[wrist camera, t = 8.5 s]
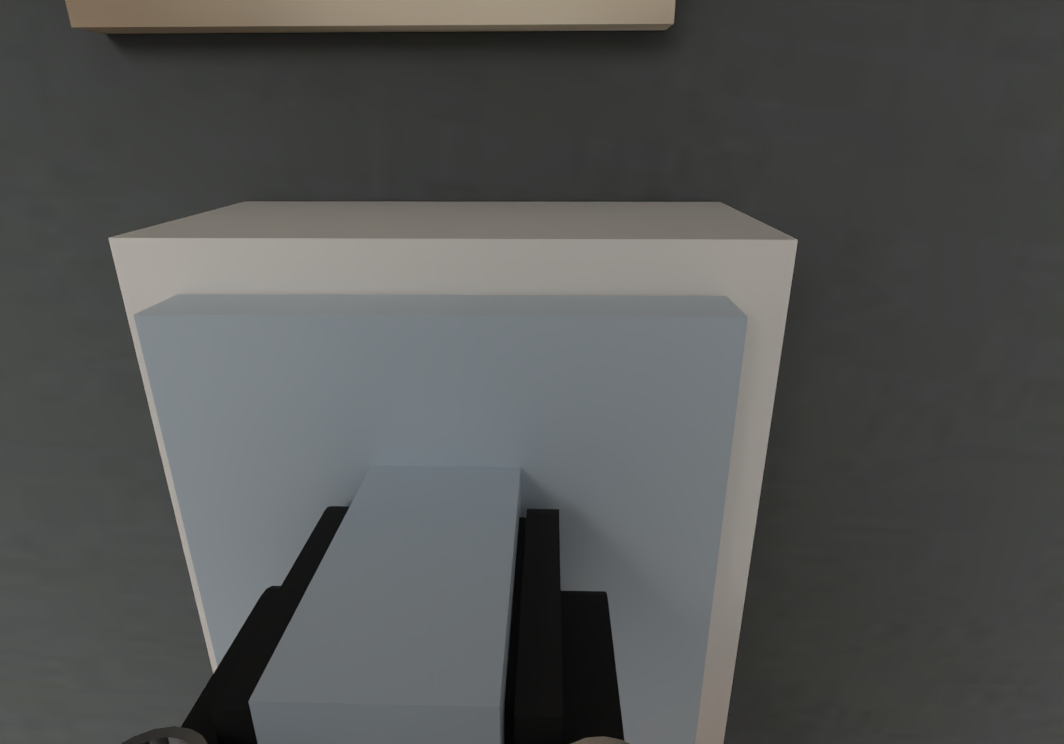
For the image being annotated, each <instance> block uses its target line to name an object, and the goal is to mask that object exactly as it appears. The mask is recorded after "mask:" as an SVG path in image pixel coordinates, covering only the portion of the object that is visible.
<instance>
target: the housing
mask: <svg viewBox="0 0 1064 744" xmlns="http://www.w3.org/2000/svg"><path fill="white" fill-rule="evenodd" d="M108 239H109V243H110V247H111V251H112V255H113V259H114V263H115V268H116V272H117V276H118V280H119V284H120V288H121V293H122V297H123V301H124V305H125V309H126V313H127V317H128V322H129V326H130V330H131V334H132V338H133V342H134V346H135V351H136V355H137V359H138V363H139V367H140V371H141V375H142V380H143V384H144V388H145V392H146V396H147V400H148V405H149V409H150V413H151V417H152V421H153V425H154V429H155V434H156V438H157V442H158V446H159V450H160V454H161V458H162V463H163V467H164V471H165V475H166V479H167V483H168V488H169V492H170V496H171V500H172V504H173V508H174V512H175V517H176V521H177V525H178V529H179V533H180V537H181V541H182V546H183V550H184V554H185V558H186V562H187V566H188V570H189V575H190V579H191V583H192V587H193V591H194V595H195V600H196V604H197V608H198V612H199V616H200V620H201V624H202V629H203V633H204V637H205V641H206V645H207V649H208V653H209V658H210V662H211V666H212V670H213V674H214V672H215V670H216V669H217V662H216V658H215V654H214V650H213V646H212V641H211V637H210V633H209V629H208V625H207V620H206V616H205V612H204V608H203V604H202V600H201V595H200V591H199V587H198V583H197V579H196V574H195V570H194V566H193V562H192V558H191V553H190V549H189V545H188V541H187V537H186V533H185V528H184V524H183V520H182V516H181V512H180V507H179V503H178V499H177V495H176V491H175V486H174V482H173V478H172V474H171V470H170V466H169V461H168V457H167V453H166V449H165V445H164V440H163V436H162V432H161V428H160V424H159V419H158V415H157V411H156V407H155V403H154V399H153V394H152V390H151V386H150V382H149V378H148V373H147V369H146V365H145V361H144V357H143V352H142V348H141V344H140V340H139V336H138V331H137V327H136V323H135V319H134V314H136V313H138V312H140V311H142V310H145V309H147V308H149V307H151V306H153V305H155V304H157V303H160V302H162V301H164V300H166V299H168V298H170V297H173V296H175V295H177V294H265V295H563V296H727V297H728V298H729V299H730V300H731V301H732V302H733V303H734V304H735V305H736V306H737V307H738V308H739V309H740V310H741V311H742V312H743V313H744V314H745V315H746V316H747V317H748V319H747V327H746V335H745V343H744V352H743V360H742V368H741V376H740V384H739V392H738V400H737V408H736V416H735V425H734V433H733V441H732V449H731V457H730V465H729V473H728V481H727V489H726V497H725V506H724V514H723V522H722V530H721V538H720V546H719V554H718V562H717V570H716V579H715V587H714V595H713V603H712V611H711V619H710V627H709V635H708V643H707V652H706V660H705V668H704V676H703V684H702V692H701V700H700V708H699V716H698V724H697V733H696V741H695V744H723V743H724V736H725V729H726V722H727V716H728V709H729V702H730V695H731V689H732V682H733V675H734V668H735V662H736V655H737V648H738V641H739V634H740V628H741V621H742V614H743V607H744V601H745V594H746V587H747V580H748V574H749V567H750V560H751V553H752V547H753V540H754V533H755V526H756V520H757V513H758V506H759V499H760V493H761V486H762V479H763V472H764V466H765V459H766V452H767V445H768V439H769V432H770V425H771V418H772V412H773V405H774V398H775V391H776V385H777V378H778V371H779V364H780V358H781V351H782V344H783V337H784V331H785V324H786V317H787V310H788V304H789V297H790V290H791V283H792V277H793V270H794V263H795V256H796V250H797V243H798V239H795V238H793V237H791V236H789V235H787V234H785V233H783V232H781V231H779V230H777V229H775V228H773V227H771V226H769V225H767V224H765V223H763V222H760V221H758V220H756V219H754V218H752V217H750V216H748V215H746V214H744V213H742V212H740V211H738V210H736V209H734V208H732V207H730V206H727V205H725V204H723V203H721V202H414V201H245V202H241V203H237V204H234V205H230V206H226V207H222V208H219V209H215V210H211V211H207V212H204V213H200V214H196V215H192V216H189V217H185V218H181V219H177V220H173V221H170V222H166V223H162V224H158V225H155V226H151V227H147V228H143V229H140V230H136V231H132V232H128V233H125V234H121V235H117V236H113V237H110V238H108Z"/></svg>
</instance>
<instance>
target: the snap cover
mask: <svg viewBox="0 0 1064 744" xmlns="http://www.w3.org/2000/svg"><path fill="white" fill-rule="evenodd" d="M134 319H135V323H136V327H137V331H138V336H139V340H140V344H141V348H142V352H143V357H144V361H145V365H146V369H147V373H148V378H149V382H150V386H151V390H152V394H153V399H154V403H155V407H156V411H157V415H158V419H159V424H160V428H161V432H162V436H163V440H164V445H165V449H166V453H167V457H168V461H169V466H170V470H171V474H172V478H173V482H174V486H175V491H176V495H177V499H178V503H179V507H180V512H181V516H182V520H183V524H184V528H185V533H186V537H187V541H188V545H189V549H190V553H191V558H192V562H193V566H194V570H195V574H196V579H197V583H198V587H199V591H200V595H201V600H202V604H203V608H204V612H205V616H206V620H207V625H208V629H209V633H210V637H211V641H212V646H213V650H214V654H215V658H216V662H217V667H218V665H219V664H220V662H221V660H222V659H223V657H224V656H225V654H226V652H227V651H228V649H229V647H230V646H231V644H232V642H233V641H234V639H235V637H236V636H237V634H238V633H239V631H240V629H241V628H242V626H243V624H244V623H245V621H246V619H247V618H248V616H249V614H250V613H251V611H252V610H253V608H254V606H255V605H256V603H257V601H258V600H259V598H260V596H261V595H262V594H263V592H264V591H265V590H266V589H267V588H269V587H271V586H281V585H282V583H283V582H284V580H285V578H286V576H287V575H288V573H289V571H290V569H291V568H292V566H293V564H294V563H295V561H296V559H297V557H298V556H299V554H300V552H301V550H302V549H303V547H304V545H305V544H306V542H307V540H308V538H309V537H310V535H311V533H312V531H313V530H314V528H315V526H316V525H317V523H318V521H319V519H320V518H321V516H322V514H323V512H324V511H325V509H326V508H327V507H329V506H350V507H349V509H348V511H347V513H346V515H345V517H344V519H343V521H342V523H341V525H340V526H339V528H338V530H337V532H336V534H335V536H334V538H333V540H332V542H331V544H330V546H329V548H328V549H327V551H326V553H325V555H324V557H323V559H322V561H321V563H320V565H319V567H318V569H317V571H316V573H315V574H314V576H313V578H312V580H311V582H310V584H309V586H308V588H307V590H306V592H305V594H304V596H303V597H302V599H301V601H300V603H299V605H298V607H297V609H296V611H295V613H294V615H293V617H292V619H291V621H290V622H289V624H288V626H287V628H286V630H285V632H284V634H283V636H282V638H281V640H280V642H279V644H278V645H277V647H276V649H275V651H274V653H273V655H272V657H271V659H270V661H269V663H268V665H267V667H266V669H265V670H264V672H263V674H262V676H261V678H260V680H259V682H258V684H257V686H256V688H255V690H254V692H253V693H252V695H251V697H250V699H249V701H248V702H249V707H250V711H251V716H252V720H253V725H254V729H255V734H256V738H257V743H258V744H504V710H505V691H506V679H507V666H508V654H509V641H510V629H511V616H512V603H513V591H514V578H515V566H516V553H517V541H518V528H519V518H520V517H525V518H526V513H527V509H559V533H560V584H561V591H606V593H607V597H608V605H609V613H610V622H611V630H612V639H613V647H614V656H615V664H616V673H617V681H618V690H619V698H620V707H621V715H622V724H623V732H624V741H625V742H627V743H629V744H695V741H696V733H697V724H698V716H699V708H700V700H701V692H702V684H703V676H704V668H705V660H706V652H707V643H708V635H709V627H710V619H711V611H712V603H713V595H714V587H715V579H716V570H717V562H718V554H719V546H720V538H721V530H722V522H723V514H724V506H725V497H726V489H727V481H728V473H729V465H730V457H731V449H732V441H733V433H734V425H735V416H736V408H737V400H738V392H739V384H740V376H741V368H742V360H743V352H744V343H745V335H746V327H747V319H748V317H747V316H746V315H745V314H744V313H743V312H742V311H741V310H740V309H739V308H738V307H737V306H736V305H735V304H734V303H733V302H732V301H731V300H730V299H729V298H728V297H727V296H563V295H265V294H177V295H175V296H173V297H170V298H168V299H166V300H164V301H162V302H160V303H157V304H155V305H153V306H151V307H149V308H147V309H145V310H142V311H140V312H138V313H136V314H134Z"/></svg>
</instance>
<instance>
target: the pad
mask: <svg viewBox="0 0 1064 744" xmlns="http://www.w3.org/2000/svg"><path fill="white" fill-rule="evenodd" d="M675 1H676V0H65V2H66V6H67V10H68V15H69V19H70V23H71V27H72V28H77V29H82V30H87V31H93V32H98V33H103V34H130V33H298V32H466V31H633V30H666V29H668V28H669V27H670V26H672V25H673V24H674V15H675Z"/></svg>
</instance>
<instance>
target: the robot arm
mask: <svg viewBox="0 0 1064 744" xmlns="http://www.w3.org/2000/svg"><path fill="white" fill-rule="evenodd" d="M349 507H350V506H329V507H327V508H326V509H325V511H324V512H323V514H322V516H321V518H320V519H319V521H318V523H317V525H316V526H315V528H314V530H313V531H312V533H311V535H310V537H309V538H308V540H307V542H306V544H305V545H304V547H303V549H302V550H301V552H300V554H299V556H298V557H297V559H296V561H295V563H294V564H293V566H292V568H291V569H290V571H289V573H288V575H287V576H286V578H285V580H284V582H283V583H282V585H281V586H271V587H269V588H267V589H266V590H265V591H264V592H263V594H262V595H261V596H260V598H259V600H258V601H257V603H256V605H255V606H254V608H253V610H252V611H251V613H250V614H249V616H248V618H247V619H246V621H245V623H244V624H243V626H242V628H241V629H240V631H239V633H238V634H237V636H236V637H235V639H234V641H233V642H232V644H231V646H230V647H229V649H228V651H227V652H226V654H225V656H224V657H223V659H222V660H221V662H220V664H219V665H218V667H217V669H216V670H215V672H214V674H213V675H212V677H211V679H210V680H209V682H208V683H207V685H206V687H205V688H204V690H203V692H202V693H201V695H200V697H199V698H198V700H197V702H196V703H195V705H194V707H193V708H192V710H191V711H190V713H189V715H188V716H187V718H186V720H185V721H184V723H183V725H182V726H181V727H175V726H173V727H166V728H159V729H153V730H151V731H148V732H145V733H142V734H139V735H137V736H134V737H132V738H130V739H129V740H127V741H125V742H123V743H122V744H258V743H257V738H256V734H255V729H254V725H253V720H252V716H251V711H250V707H249V702H248V701H249V699H250V697H251V695H252V693H253V692H254V690H255V688H256V686H257V684H258V682H259V680H260V678H261V676H262V674H263V672H264V670H265V669H266V667H267V665H268V663H269V661H270V659H271V657H272V655H273V653H274V651H275V649H276V647H277V645H278V644H279V642H280V640H281V638H282V636H283V634H284V632H285V630H286V628H287V626H288V624H289V622H290V621H291V619H292V617H293V615H294V613H295V611H296V609H297V607H298V605H299V603H300V601H301V599H302V597H303V596H304V594H305V592H306V590H307V588H308V586H309V584H310V582H311V580H312V578H313V576H314V574H315V573H316V571H317V569H318V567H319V565H320V563H321V561H322V559H323V557H324V555H325V553H326V551H327V549H328V548H329V546H330V544H331V542H332V540H333V538H334V536H335V534H336V532H337V530H338V528H339V526H340V525H341V523H342V521H343V519H344V517H345V515H346V513H347V511H348V509H349ZM504 744H629V743H627V742H625V741H624V732H623V724H622V715H621V707H620V698H619V690H618V681H617V673H616V664H615V656H614V647H613V639H612V630H611V622H610V613H609V605H608V597H607V593H606V591H561V584H560V533H559V509H527V513H526V518H525V517H520V518H519V528H518V541H517V553H516V566H515V578H514V591H513V603H512V616H511V629H510V641H509V654H508V666H507V679H506V691H505V710H504Z"/></svg>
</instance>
